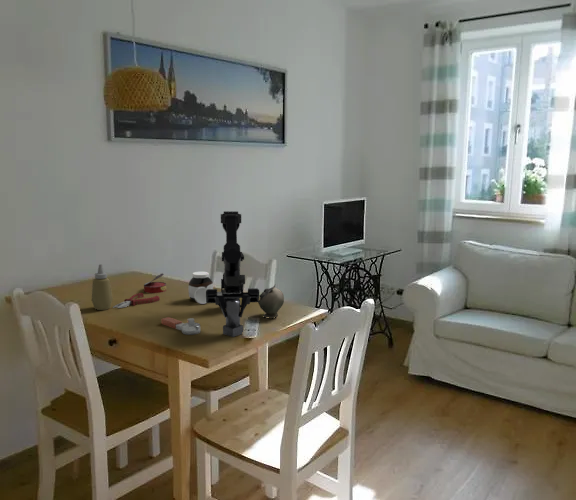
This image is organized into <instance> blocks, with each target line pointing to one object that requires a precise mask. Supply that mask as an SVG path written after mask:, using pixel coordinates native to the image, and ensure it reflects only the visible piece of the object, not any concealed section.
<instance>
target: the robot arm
mask: <svg viewBox="0 0 576 500" xmlns="http://www.w3.org/2000/svg"><path fill="white" fill-rule="evenodd" d="M220 224H221V225H222V229H223V230H224V232H225V238H226V241H225V244H224V245H223V251H221V262H223V264H224V268H223V270H224V272H223V274H222V278H221V279H220V289H221V290H220V291H218V289H217V288H213V289H207V290H206V303H205V304H215V305H216V306H218V307H219V308H220V310H221V312H222V314H223V317H224V319H226V300H228V299H239V300H240V318H242V316H243V314H244V311H245V309H246V308H247V305H250V304H251V303H258V302H259V300H260V289H259V288H258V287H256V288H255V287H254V288H247V291H246V292H244V285H246V274H241V262H243V261H244V260H245V255H244V253H243V251H241V245H240V244H239V243H238V239H237V236H238V230H239V228H240V226H241V225H240V224H242V213H239V211H237V210H236V211H228V210H227V211H226V210H225V211H223V213H220Z"/></svg>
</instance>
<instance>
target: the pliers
mask: <svg viewBox="0 0 576 500" xmlns="http://www.w3.org/2000/svg"><path fill="white" fill-rule="evenodd" d="M140 297H141V298H140ZM137 298H138V299H137ZM159 301H160V296H159V295H155V296H153V297H147V298H145V297H144V293H143V292H138V293H136V294H133V295H132V296H131V297H129V298H125V299H124V301H122V302H120V303H117V304H116V305H114V306H112V308H117V309H123V308H127V306H128V307H129V305H130V306H133V307H135V306H136V305H137V304H138V305H145V304H151V303H152V304H153V303H156V302H159Z"/></svg>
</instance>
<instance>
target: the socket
mask: <svg viewBox="0 0 576 500" xmlns="http://www.w3.org/2000/svg"><path fill="white" fill-rule="evenodd" d="M240 305H241V299H240V300H239V299H228V300H226V308H225V310H226V318H225V324H224V325H222V335H224V336H225V335H226V336H228V337H231V338H235V337H238V336H240V335H243V334H242V332H243V333H244V325H242V324H241V317H240V310H241V307H240Z"/></svg>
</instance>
